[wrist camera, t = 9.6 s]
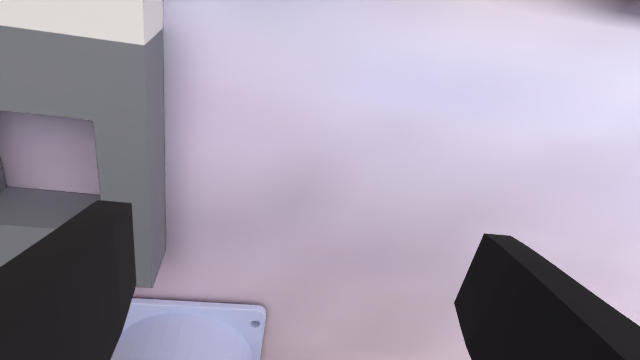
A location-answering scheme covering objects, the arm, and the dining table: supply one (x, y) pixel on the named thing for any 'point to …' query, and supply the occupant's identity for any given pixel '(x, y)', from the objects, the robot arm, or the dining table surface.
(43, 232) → the white grey peg board
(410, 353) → the dining table surface
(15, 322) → the robot arm
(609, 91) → the dining table surface
